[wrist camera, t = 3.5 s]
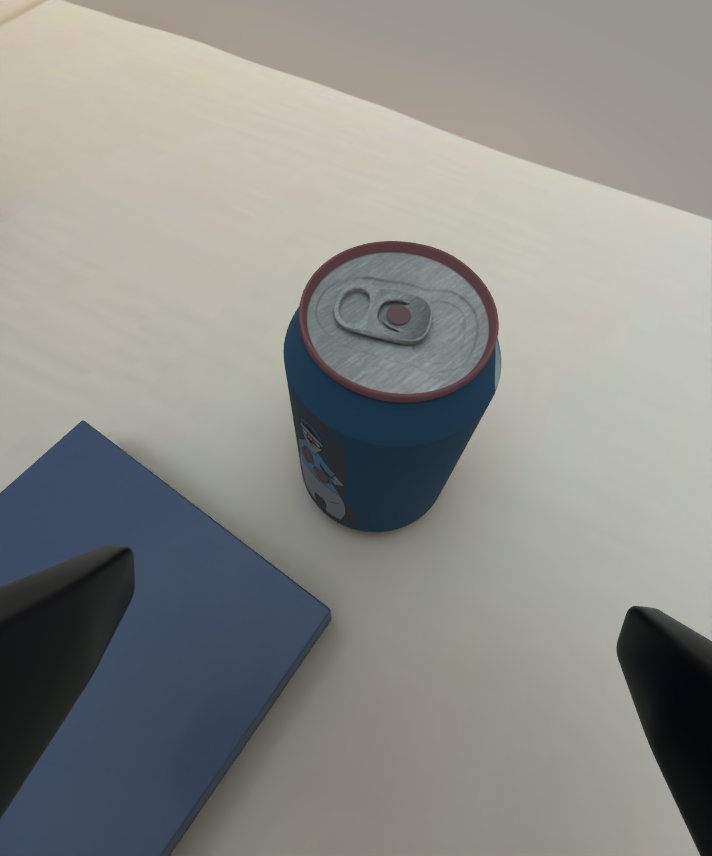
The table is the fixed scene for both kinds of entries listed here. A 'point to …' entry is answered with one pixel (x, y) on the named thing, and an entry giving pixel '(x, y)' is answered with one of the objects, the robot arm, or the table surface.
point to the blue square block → (147, 654)
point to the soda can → (388, 379)
